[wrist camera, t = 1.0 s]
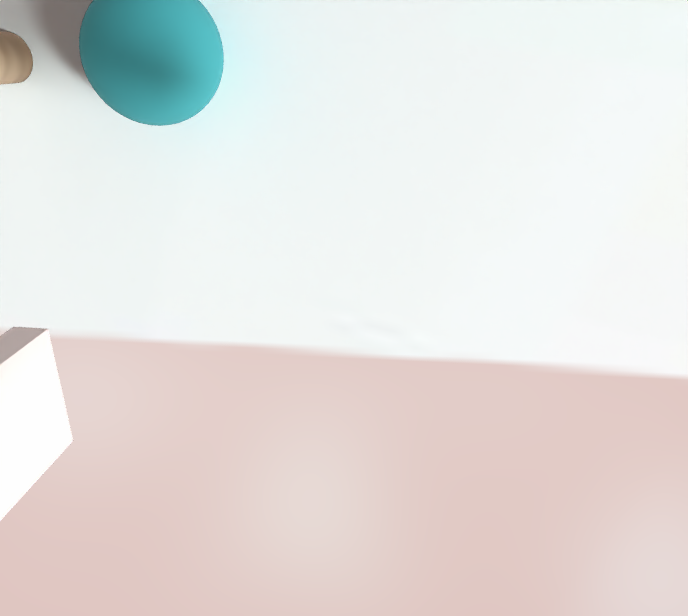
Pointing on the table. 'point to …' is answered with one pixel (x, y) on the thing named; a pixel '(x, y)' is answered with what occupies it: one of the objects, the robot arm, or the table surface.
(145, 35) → the ball
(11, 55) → the pin
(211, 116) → the table surface
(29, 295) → the table surface
